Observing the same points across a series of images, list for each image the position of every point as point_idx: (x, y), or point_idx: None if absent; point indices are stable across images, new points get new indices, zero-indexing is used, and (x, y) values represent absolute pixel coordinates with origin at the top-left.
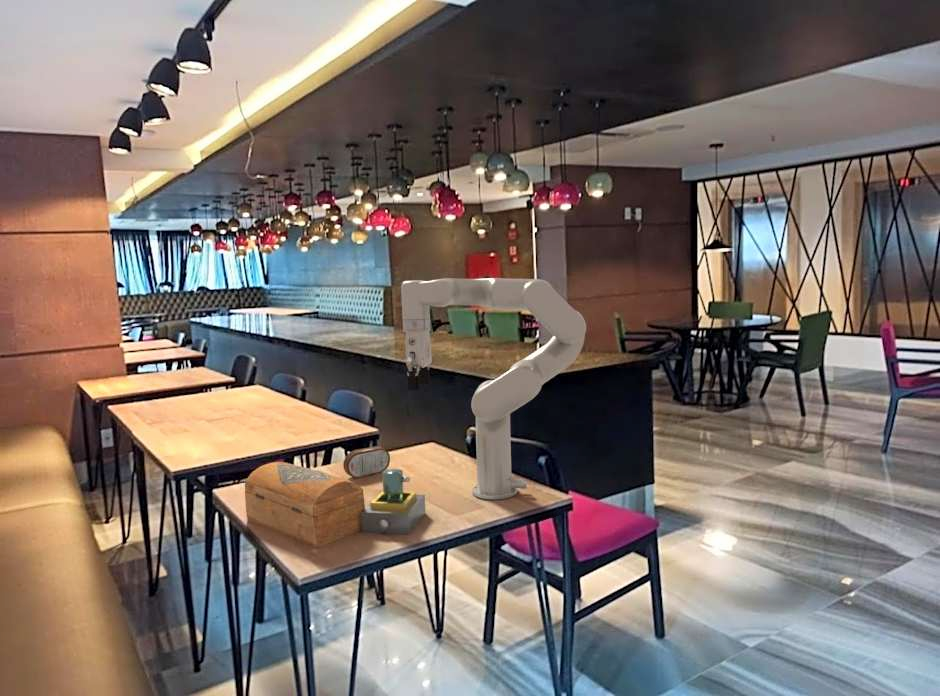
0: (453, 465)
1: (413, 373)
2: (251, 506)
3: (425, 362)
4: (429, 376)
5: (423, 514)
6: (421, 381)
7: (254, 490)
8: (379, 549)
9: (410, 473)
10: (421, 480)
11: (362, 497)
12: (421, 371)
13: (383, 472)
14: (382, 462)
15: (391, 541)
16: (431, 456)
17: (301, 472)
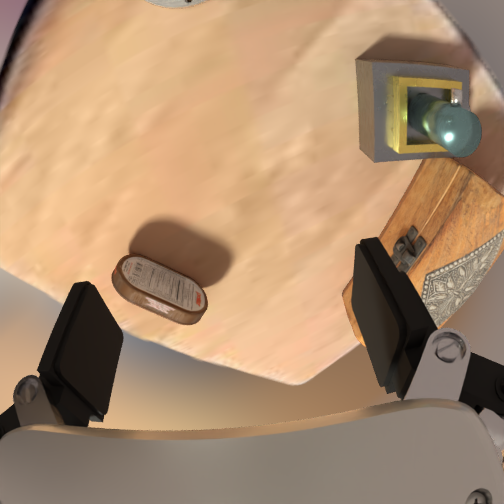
0: (39, 147)
1: (476, 361)
2: None
3: (363, 477)
4: (59, 321)
5: (370, 59)
6: (112, 333)
7: None
8: (490, 98)
9: (120, 202)
10: (152, 156)
11: (467, 167)
12: (94, 398)
13: (468, 153)
14: (136, 267)
15: (469, 87)
16: (20, 220)
17: (459, 293)
